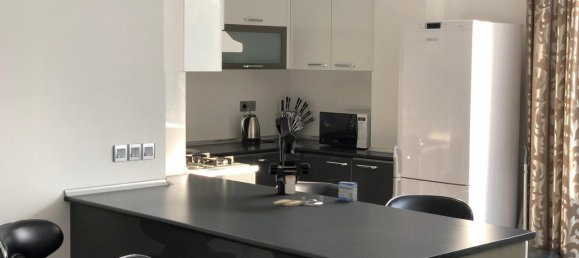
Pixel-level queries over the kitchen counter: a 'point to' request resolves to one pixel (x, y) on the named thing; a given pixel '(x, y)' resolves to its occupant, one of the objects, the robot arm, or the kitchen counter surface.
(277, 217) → the kitchen counter surface
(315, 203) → the clear glass bowl
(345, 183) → the medicine box
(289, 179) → the whitish cup
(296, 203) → the board
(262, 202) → the kitchen counter surface
